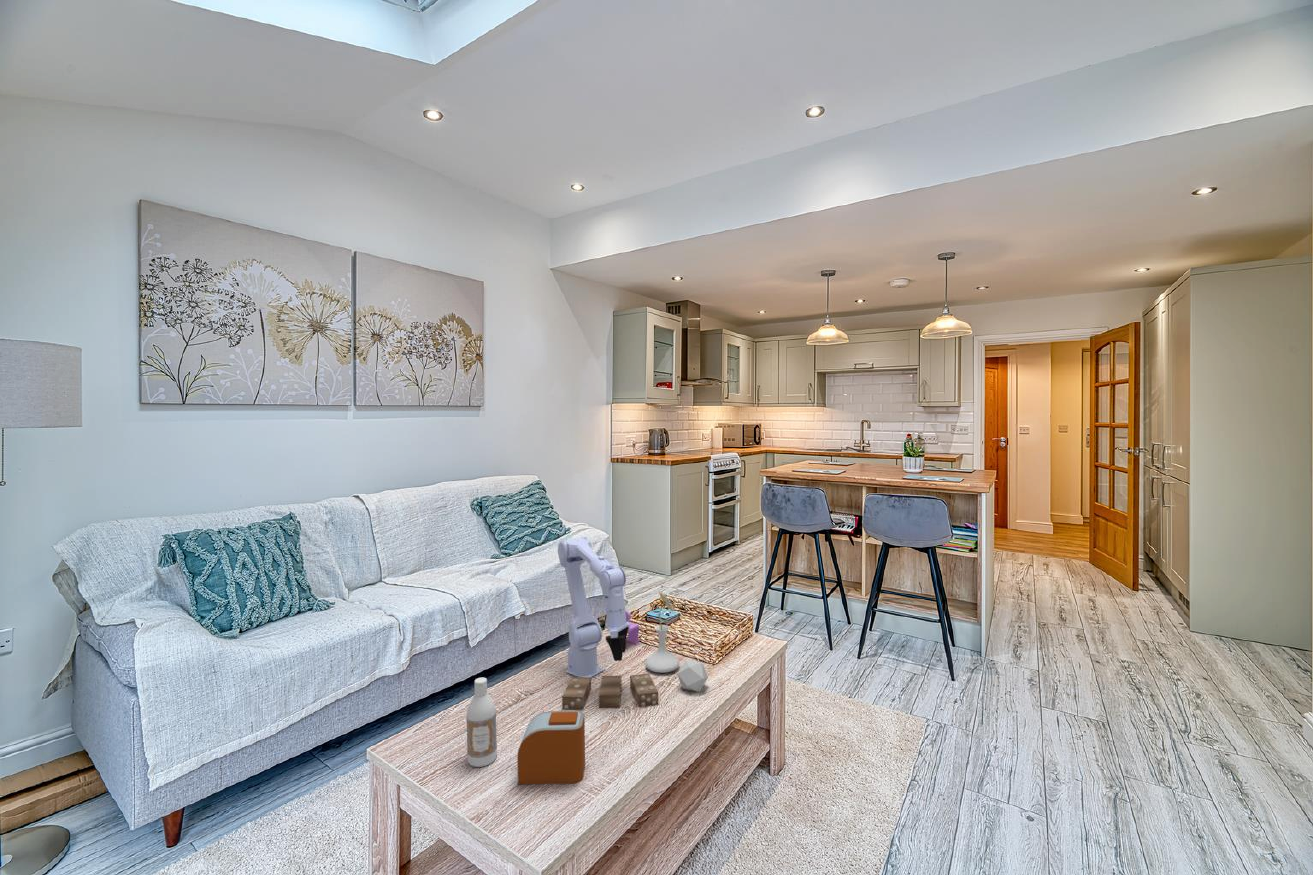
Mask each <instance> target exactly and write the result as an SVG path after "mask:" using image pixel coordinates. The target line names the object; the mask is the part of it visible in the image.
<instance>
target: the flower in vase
mask: <svg viewBox="0 0 1313 875" xmlns="http://www.w3.org/2000/svg"><path fill="white" fill-rule="evenodd" d="M658 595H659V596H660V598H661V600H662V605H661V608H660V609H659V612H657V615H658V619H659V624H658V625H656V626H654V630H655V631H656V633H657V637H658V648H657V649H656V651H655V652H652V654H650V655H649V656H648V657H647V658H646V660H645V666H646V668H647V669H648V670H649V671H651V672H655V673H669V672H673V671H675V670H677V668H679V666H680V661H679V659H678V658H677V657H676V655H675V654H673V653H671V652H670V651H669V650H668V649H667V646H666V638H667V633H668V631H669V630H670V626H669V625H667V624H662V623H664V622H665V621H667V619H664V620H662V617H661V612H662V610H663V608H664V605H665V606H666V607H667V608H668V610H670V612H674V611H675V609H674V606H673V605H672V603H671V600H670V599H669V598H667V595H666V594H665V593H663V591H659V593H658Z"/></svg>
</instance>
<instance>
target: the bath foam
mask: <svg viewBox="0 0 1313 875" xmlns="http://www.w3.org/2000/svg"><path fill="white" fill-rule="evenodd" d="M496 709H497V708H496V704H495V701H494V700H493V698H492V697H491V696H490V694H489V693H488V679H487V678H486V677H481V676H480V677H478V678H475V680H474V696H473V698H472V699H471V700H470V702H469V704H468V706H467V710H466V750H467V752H466V753H467V754H466V755H467V763H468V764H469V765H470V766H471V767H473V768H474V767H475V768H481V767H486V766H488V765H490V764H492V763H493V762H494V761H495V760H496V758H497V755H498V754H497V753H498V744H497V734H498V733H497V710H496Z"/></svg>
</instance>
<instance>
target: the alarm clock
mask: <svg viewBox="0 0 1313 875" xmlns="http://www.w3.org/2000/svg"><path fill="white" fill-rule="evenodd" d="M585 727H586V725H585V713H584V712H583V710H548V711H543V712H540V713H539V714H537V715H535V716H534V717H533V718H532V719H530V721H529V722H528V723H527V726H526V729H525V730H524V734H523V737H522V739H521V742H520V745H519V747H518V750H517V758H516V759H517V785H546V784H547V785H549V784H550V785H551V784H554V785H555V784H557V785H558V784H559V785H560V784H576V783H579V782H581V781H582V780H583V778H584V774H585V768H586V741H585V740H586V739H585V737H586V736H585V735H586V734H585V731H586V728H585Z"/></svg>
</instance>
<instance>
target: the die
mask: <svg viewBox="0 0 1313 875" xmlns="http://www.w3.org/2000/svg"><path fill="white" fill-rule="evenodd" d="M676 675H677V678H678V680H679V683H680V684H681V688H682V690H688V691H690V692H691V691H692V692H698V693H700V692H701V690H702V688H703V686H704V685H705V683H706V682H707V680H708V678H709V677H708V674H707V671H706V669H705V666H704V664H703V662H701V661H697V660H693V659H692V660H691V659H685V661H684V662H683V663H682V665H681V667H680V668H679V669H678V671H677V673H676Z"/></svg>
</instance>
